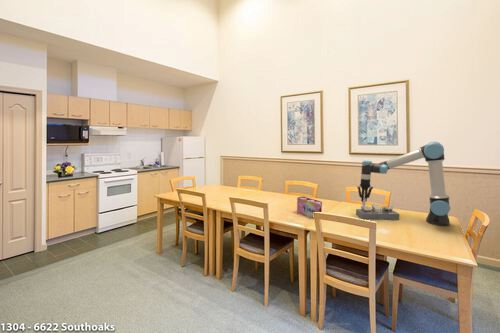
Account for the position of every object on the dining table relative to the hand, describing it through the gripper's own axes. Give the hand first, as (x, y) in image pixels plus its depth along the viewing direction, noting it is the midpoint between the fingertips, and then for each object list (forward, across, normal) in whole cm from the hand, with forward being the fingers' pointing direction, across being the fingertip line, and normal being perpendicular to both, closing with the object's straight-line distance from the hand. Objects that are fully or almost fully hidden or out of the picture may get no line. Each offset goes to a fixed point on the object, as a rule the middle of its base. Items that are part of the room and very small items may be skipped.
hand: (363, 205), depth 225 cm
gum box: (+9, +47, 0) cm, 48 cm away
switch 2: (+1, -9, +5) cm, 10 cm away
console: (+8, -9, +6) cm, 14 cm away
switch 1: (+1, 0, +5) cm, 5 cm away
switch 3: (+1, -18, +5) cm, 19 cm away
